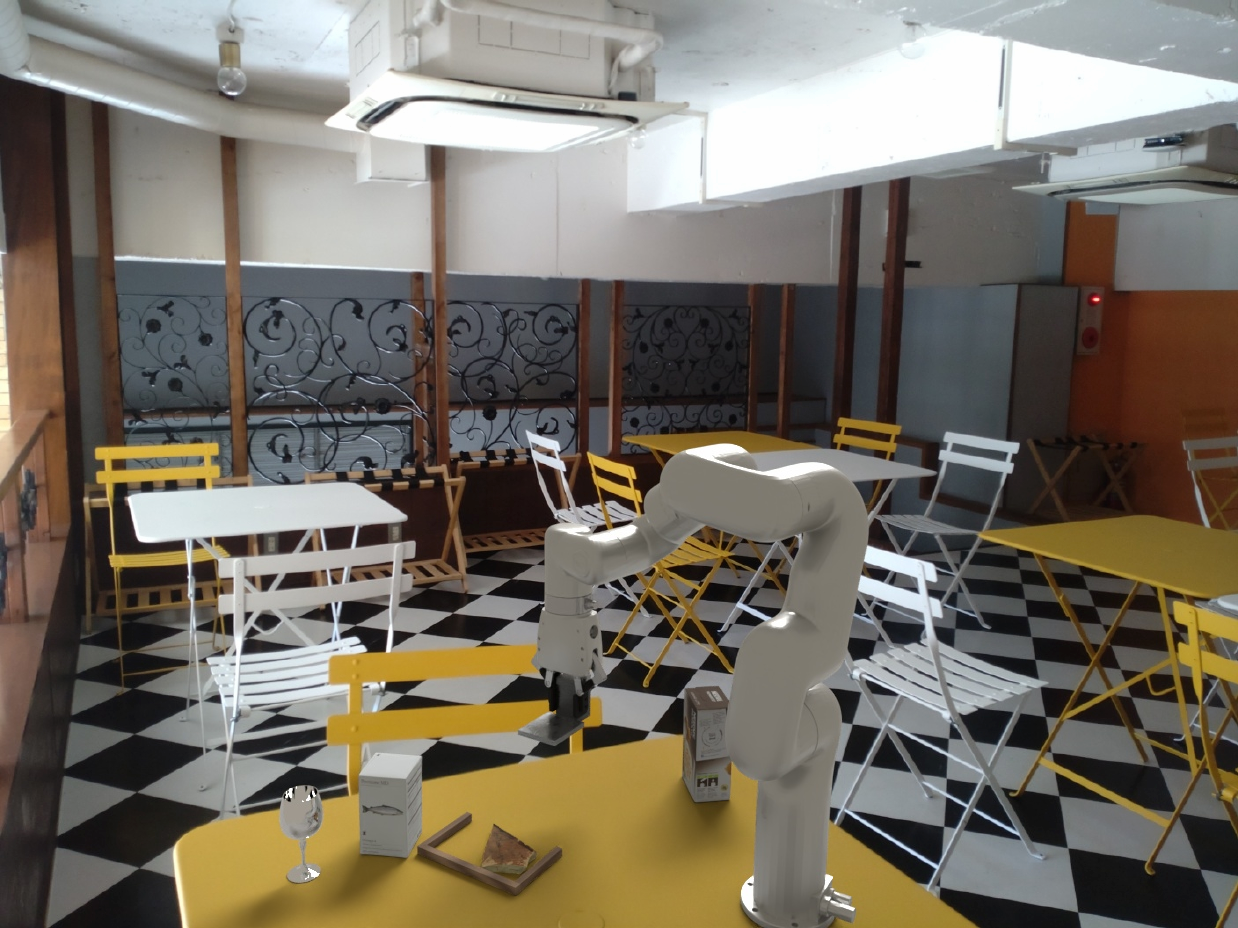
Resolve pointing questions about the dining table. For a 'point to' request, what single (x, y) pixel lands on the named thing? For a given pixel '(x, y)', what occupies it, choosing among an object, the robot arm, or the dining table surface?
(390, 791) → the supplement box
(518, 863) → the shard
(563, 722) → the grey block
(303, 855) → the wineglass
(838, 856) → the dining table surface
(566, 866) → the dining table surface
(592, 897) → the dining table surface
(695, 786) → the coffee box
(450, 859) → the frame
